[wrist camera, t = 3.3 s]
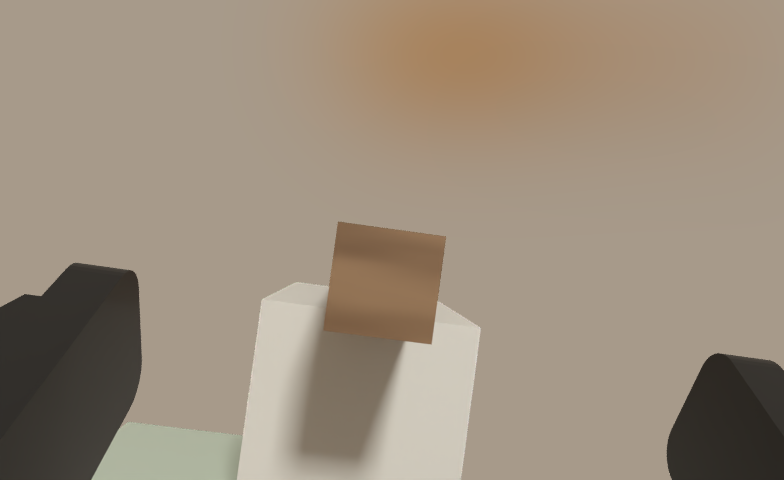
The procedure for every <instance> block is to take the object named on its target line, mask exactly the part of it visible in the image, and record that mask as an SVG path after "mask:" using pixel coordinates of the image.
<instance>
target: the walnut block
mask: <svg viewBox="0 0 784 480" xmlns="http://www.w3.org/2000/svg"><path fill="white" fill-rule="evenodd" d="M445 240H446V236H439V235H431V234H424V233H417V232H410V231H402V230H395V229H388V228H380V227H373V226H366V225H358V224H351V223H344V222H338V226H337V234H336V240H335V248H334V255H333V263H332V269H331V277H330V284H329V291H328V298H327V306H326V313H325V320H324V328H323V331H330V332H338V333H346V334H353V335H361V336H369V337H377V338H384V339H392V340H400V341H408V342H415V343H423V344H431V345H432V338H433V331H434V323H435V316H436V308H437V301H438V293H439V286H440V278H441V271H442V262H443V256H444V248H445Z"/></svg>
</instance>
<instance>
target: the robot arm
mask: <svg viewBox="0 0 784 480" xmlns="http://www.w3.org/2000/svg"><path fill="white" fill-rule="evenodd" d="M141 365H142V355H141V331H140V308H139V287H138V279H137V276H136V274H135V273H134V272H133V271H131V270H123V269H117V268H110V267H103V266H95V265H88V264H81V263H73V264H72V265H70V266H69V267H68V268H67V269H66V270H65V271H64V272H63V273H62V274H61V275H60V276H59V278H58V279H57V280H56V281H55V282H54V283H53V284H52V285H51V286H50V287H49V288H48V290H47V291H46V292H45V293H44V294H43V295H42V296H35V295H27V294H24V295H23V296H21V297H19V298H17V299H15V300H13V301H11V302H9V303H7V304H6V305H4V306H2V307H0V480H91V479H92V478H93V476H94V474H95V472H96V470H97V468H98V466H99V465H100V463H101V461H102V459H103V457H104V455H105V454H106V452H107V450H108V448H109V446H110V444H111V442H112V441H113V439H114V437H115V435H116V433H117V431H118V429H119V428H120V426H121V424H122V422H123V420H124V418H125V416H126V414H127V413H128V411H129V409H130V407H131V405H132V403H133V400H134V398H135V395H136V392H137V388H138V384H139V379H140V374H141ZM667 463H668V469H669V473H670V476H671V478H672V480H784V370H783V369H782V368H781V367H780V366H779V365H778V364H776V363H775V362H773V361H770V360H763V359H755V358H748V357H741V356H733V355H726V354H719V353H718V354H714V355H712V356H710V357H709V358H708V359H707V360H706V361H705V363H704V364H703V366H702V368H701V370H700V372H699V374H698V376H697V379H696V380H695V382H694V384H693V387H692V389H691V391H690V393H689V395H688V397H687V399H686V401H685V403H684V405H683V407H682V409H681V411H680V413H679V415H678V417H677V419H676V421H675V424H674V426H673V428H672V430H671V432H670V435H669V439H668V444H667Z"/></svg>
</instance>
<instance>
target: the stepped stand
mask: <svg viewBox="0 0 784 480" xmlns="http://www.w3.org/2000/svg"><path fill="white" fill-rule="evenodd" d="M328 291H329V286H323V285H315V284H308V283H300V282H295V283H293V284H291V285H289V286H287V287H285V288H283V289H281V290H279V291H278V292H276V293H274V294H272V295H270V296H268V297H266V298H264V299H262V303H261V310H260V317H259V325H258V332H257V339H256V346H255V353H254V361H253V367H252V374H251V381H250V388H249V396H248V403H247V410H246V418H245V424H244V432H243V436H242V435H233V434H225V433H216V432H208V431H200V430H192V429H183V428H175V427H167V426H158V425H150V424H141V423H132V422H128V423H127V424H125V425H124V426H123V427H122V428H120V429H119V430H118V431H117V433H116V435H115V437H114V439H113V441H112V442H111V444H110V446H109V448H108V450H107V452H106V454H105V455H104V457H103V459H102V461H101V463H100V465H99V466H98V468H97V470H96V472H95V474H94V476H93V478H92V479H91V480H461V475H462V468H463V460H464V452H465V445H466V436H467V430H468V422H469V414H470V407H471V398H472V392H473V384H474V376H475V369H476V361H477V353H478V345H479V339H480V330H481V328H480V327H479V326H477V325H475V324H474V323H472V322H471V321H469V320H467V319H466V318H464V317H463V316H461V315H460V314H458V313H456V312H455V311H453V310H452V309H450V308H448V307H447V306H445V305H444V304H442V303H440V302H439V301H437V308H436V316H435V323H434V331H433V338H432V345H431V344H423V343H415V342H408V341H400V340H392V339H384V338H377V337H369V336H361V335H353V334H346V333H338V332H330V331H323V328H324V320H325V313H326V306H327V298H328Z"/></svg>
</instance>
